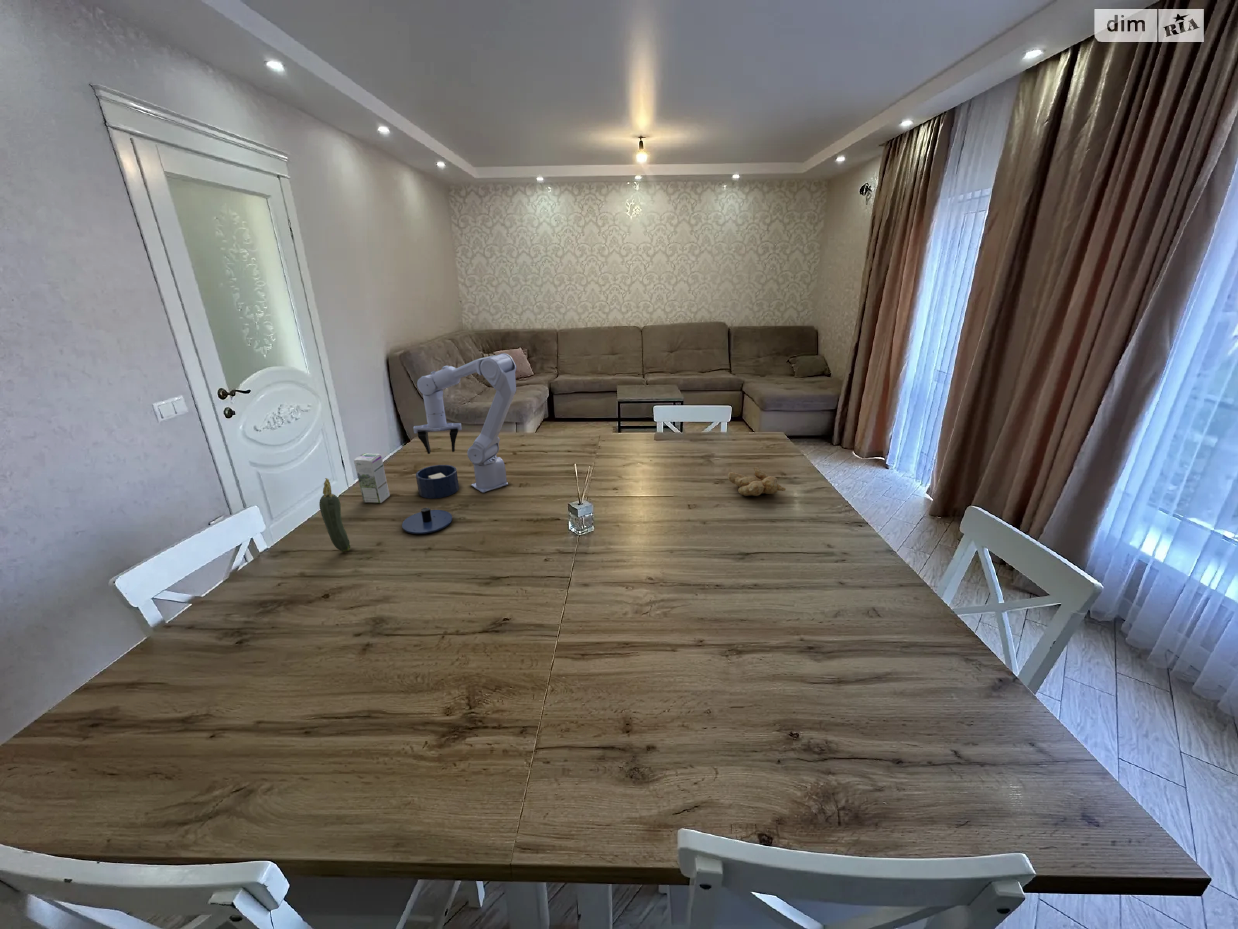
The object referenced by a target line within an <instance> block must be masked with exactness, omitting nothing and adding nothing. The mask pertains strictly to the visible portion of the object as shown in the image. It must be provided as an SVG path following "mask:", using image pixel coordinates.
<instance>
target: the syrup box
mask: <svg viewBox="0 0 1238 929" xmlns="http://www.w3.org/2000/svg"><path fill="white" fill-rule="evenodd" d="M353 463H354V469H355V471H356V476H357V481H358V484H359V489H360V493H361V497H362V501H363V502H362V503H364V504H365V503H367V504H382V503H383V502H385V501H386V500H387V499H388V498H389V497H391V493H390V489H389V485H388V481H387V476H386V471H385V466H384V461H383V456H382V454H381V453H362V454H360V455H358V456H356V457H355V458H354V459H353Z"/></svg>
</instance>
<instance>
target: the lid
mask: <svg viewBox="0 0 1238 929" xmlns="http://www.w3.org/2000/svg"><path fill="white" fill-rule="evenodd" d="M452 521H453V515H452V514H451V513H450V512H449V511H446V510H444V509H443V510H442V509H431V507H423V508H421V509H420V511H419V512H416V513H414V514H411V515H410V516H407V517H406V518H405V519H404V520H403V521H402V524H401V528H402V530H403V531H404V532H406V533H408V534H414V535H424V534H431V533H436V532H438V531H440V530H443V529H444V528H446V527H448V526H449V525H450V524H452Z"/></svg>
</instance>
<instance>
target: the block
mask: <svg viewBox="0 0 1238 929" xmlns="http://www.w3.org/2000/svg"><path fill="white" fill-rule="evenodd" d="M442 477H445V475H443V474H442V473H438V474H434V475H430V476H428V478H429V479H436V478H442Z"/></svg>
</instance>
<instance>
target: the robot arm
mask: <svg viewBox="0 0 1238 929" xmlns="http://www.w3.org/2000/svg"><path fill="white" fill-rule="evenodd" d="M516 372H517V365H516V363H515V361H514V358H513V357H512V356H511V355H509V354H508V353H505V352H502V353H499V354H497V355H496V354H494V355H488V356H485V357H480V358H476V359H474V360H472V361H470V362H467V363H465V364H463V365H461V366H459V367H454V366H452V365H444V366H441V369H439V370H437V371H436V370H432V371H431V372H430V374H427V375H421V377H420V378H418V379H417V381H416V382H417V383H416V386H417V389H418V391H419V392H420V393H421V394H422V398H423V404H424V409H425V416H426V422H427V424H421V425H414V426H413V428H412V430H413V434H417V439H419V441H420V442H421V443H422V445H423V446H424V448H425V450H426V453H427V454H428V455H430V454H431V445H430V440H429V433H432V432H445V431H447V432H448V431H449V438H450V445H451V452H452V453H455V451H456V440H457V436H458V434H459V431H462V429H463V427H462V423H461V422H447V417H446V416H447V415H446V411H445V404H444V396H443V395H444V390H445V389H448V388H451V387H454V386H457V385H458V384H460V382H461V379H462V378H464V377H467V376H470V375H473V374H478V375H479V376H483V377H484V379H485V380H486V381H487V382H488V383H489V384H490V386H491V387H492V388H493V389H494V390H495V394H494V396H493V399H492V402H491V405H490V407H489V409H488V412H487V415H486V417H485V420H484V423H483V425H482V428H481V431H480V434H479V435H478V436H477V437H476V438H475V440H474V441H473V443H472V445H470V446H469V448H468V449H467V452H466V455H467V458H468V460H469V461H470V462H471V463H472V465H473V471H474V479H475V482H474V483H471V484H470V486H471V487H472V488H474V489H475V490H477V491H479V492H481V493H487V492H490V491H493V490H496V489H499V488H502V487H505V486H508V485H509V483H508V481H507V470H506V464H505V462H504V459H502V457H500V456H497V455H498V453H499V451H500V441H501V438H500V437H499V435H500V433H501V430H502V428H503V425H504V422H505V420H506V417H507V415H508V412H509V410H510V407H511V405H512V403H513V400H514V397H515V395H516V393H517V380H516Z"/></svg>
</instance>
